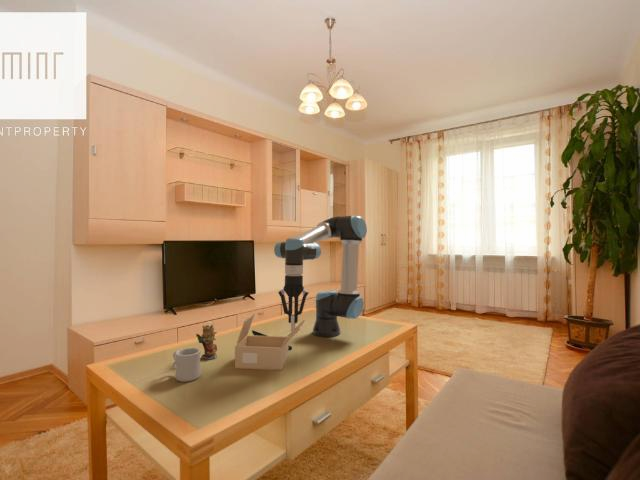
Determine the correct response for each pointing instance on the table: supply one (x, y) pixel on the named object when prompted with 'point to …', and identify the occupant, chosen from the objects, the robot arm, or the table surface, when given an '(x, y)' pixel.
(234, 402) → the table surface
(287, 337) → the right flap
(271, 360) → the carton
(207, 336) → the figurine
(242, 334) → the left flap
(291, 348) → the game console
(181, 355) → the mug
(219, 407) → the table surface
